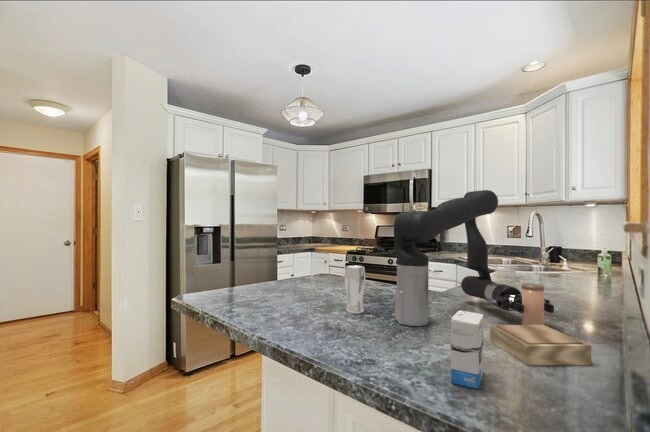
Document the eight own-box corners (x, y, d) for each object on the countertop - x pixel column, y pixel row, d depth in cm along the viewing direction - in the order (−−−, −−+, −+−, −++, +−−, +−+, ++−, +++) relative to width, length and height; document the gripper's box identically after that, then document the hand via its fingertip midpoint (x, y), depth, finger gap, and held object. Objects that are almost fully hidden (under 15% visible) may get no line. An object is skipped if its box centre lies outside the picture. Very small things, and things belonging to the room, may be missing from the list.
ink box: (479, 390, 57) (479, 324, 57) (449, 383, 60) (449, 319, 60) (484, 372, 64) (484, 312, 65) (458, 366, 67) (457, 309, 67)
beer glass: (341, 312, 106) (341, 267, 107) (348, 307, 113) (348, 264, 113) (361, 314, 104) (362, 268, 104) (367, 309, 110) (367, 265, 111)
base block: (526, 365, 67) (526, 344, 68) (490, 340, 81) (490, 323, 82) (591, 364, 68) (591, 344, 68) (544, 340, 82) (543, 323, 82)
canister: (530, 334, 86) (529, 287, 86) (517, 328, 92) (517, 283, 92) (549, 334, 86) (549, 287, 87) (535, 328, 92) (535, 283, 92)
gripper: (480, 284, 103) (512, 295, 87) (524, 284, 104) (563, 295, 87) (480, 307, 103) (512, 323, 87) (524, 307, 104) (563, 323, 87)
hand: (537, 309), depth 87 cm, fingers open, 8 cm apart
